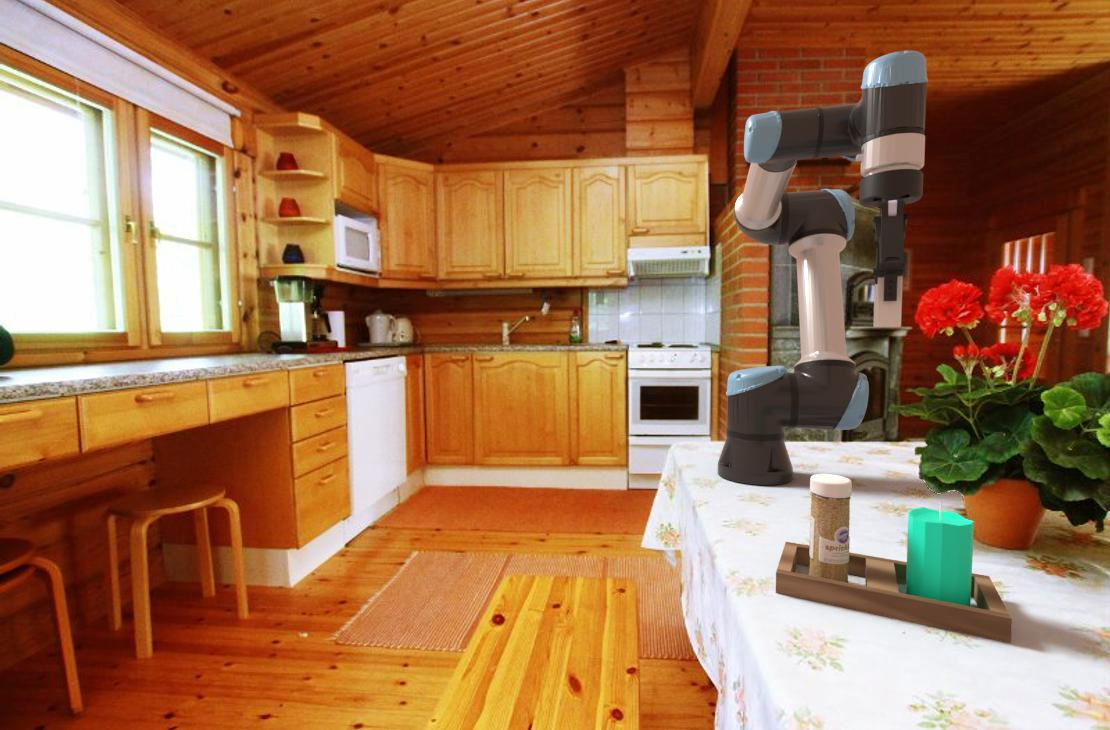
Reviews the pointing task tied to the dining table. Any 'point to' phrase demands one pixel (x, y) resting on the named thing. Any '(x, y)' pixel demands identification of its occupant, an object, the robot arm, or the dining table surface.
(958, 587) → the candle
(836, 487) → the sprinkles bottle
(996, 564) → the dining table surface
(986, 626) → the walnut rail
